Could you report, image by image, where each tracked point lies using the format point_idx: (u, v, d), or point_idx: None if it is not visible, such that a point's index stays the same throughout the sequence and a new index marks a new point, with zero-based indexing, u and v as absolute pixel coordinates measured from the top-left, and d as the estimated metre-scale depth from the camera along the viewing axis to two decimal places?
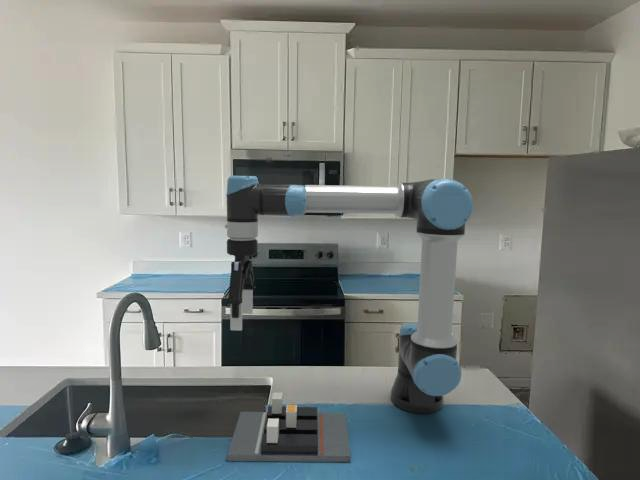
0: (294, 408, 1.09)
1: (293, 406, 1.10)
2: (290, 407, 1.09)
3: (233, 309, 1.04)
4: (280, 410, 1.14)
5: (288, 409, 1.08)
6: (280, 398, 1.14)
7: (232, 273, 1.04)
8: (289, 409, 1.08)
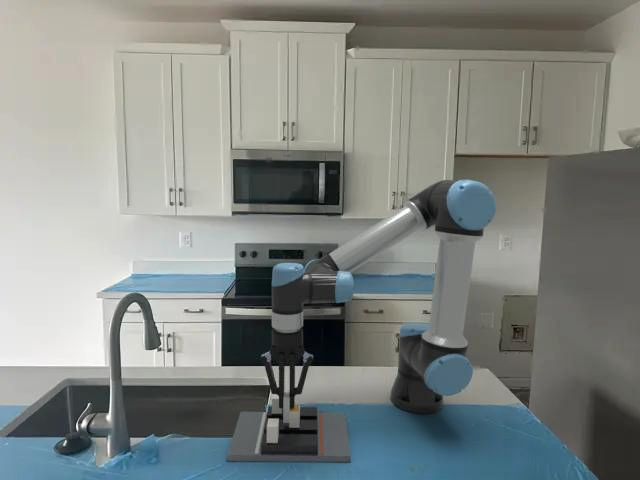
0: (297, 408, 1.09)
1: (296, 406, 1.10)
2: None
3: None
4: (280, 410, 1.14)
5: (291, 409, 1.08)
6: None
7: None
8: (292, 409, 1.08)
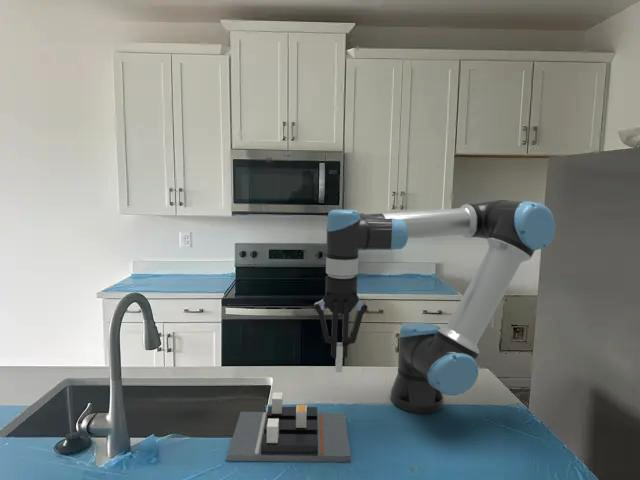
0: (304, 408, 1.09)
1: (303, 406, 1.10)
2: (300, 407, 1.09)
3: (331, 347, 1.08)
4: (280, 410, 1.14)
5: (298, 409, 1.08)
6: (280, 398, 1.14)
7: None
8: (299, 409, 1.08)
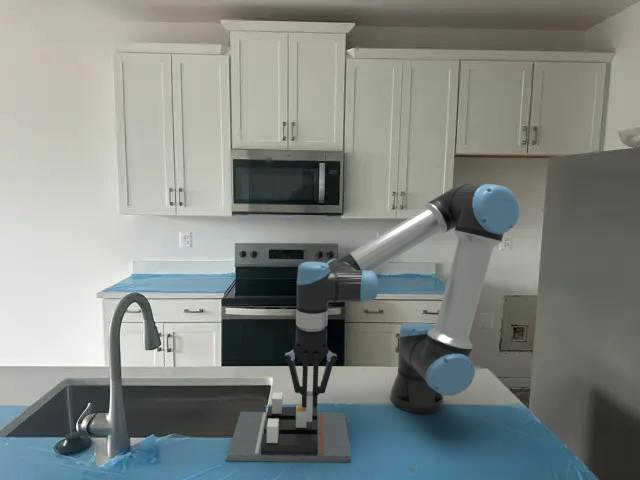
0: (304, 408, 1.09)
1: None
2: (300, 407, 1.09)
3: None
4: (280, 410, 1.14)
5: (298, 409, 1.08)
6: (280, 398, 1.14)
7: None
8: (299, 409, 1.08)
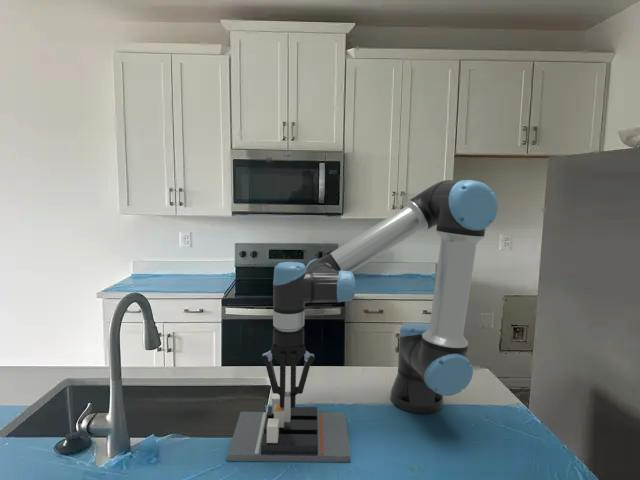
0: (282, 408, 1.09)
1: None
2: (278, 407, 1.09)
3: None
4: None
5: (276, 409, 1.08)
6: None
7: None
8: (277, 409, 1.08)
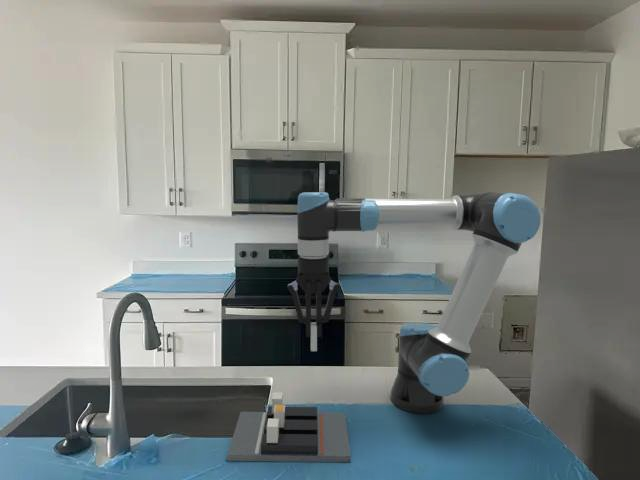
0: (282, 408, 1.09)
1: (281, 406, 1.10)
2: (278, 407, 1.09)
3: None
4: None
5: (276, 409, 1.08)
6: (280, 398, 1.14)
7: None
8: (277, 409, 1.08)
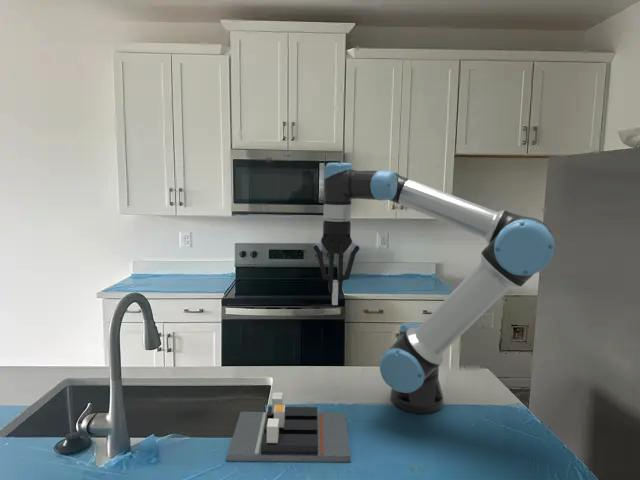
0: (282, 408, 1.09)
1: (281, 406, 1.10)
2: (278, 407, 1.09)
3: (328, 284, 1.24)
4: None
5: (276, 409, 1.08)
6: (280, 398, 1.14)
7: None
8: (277, 409, 1.08)
